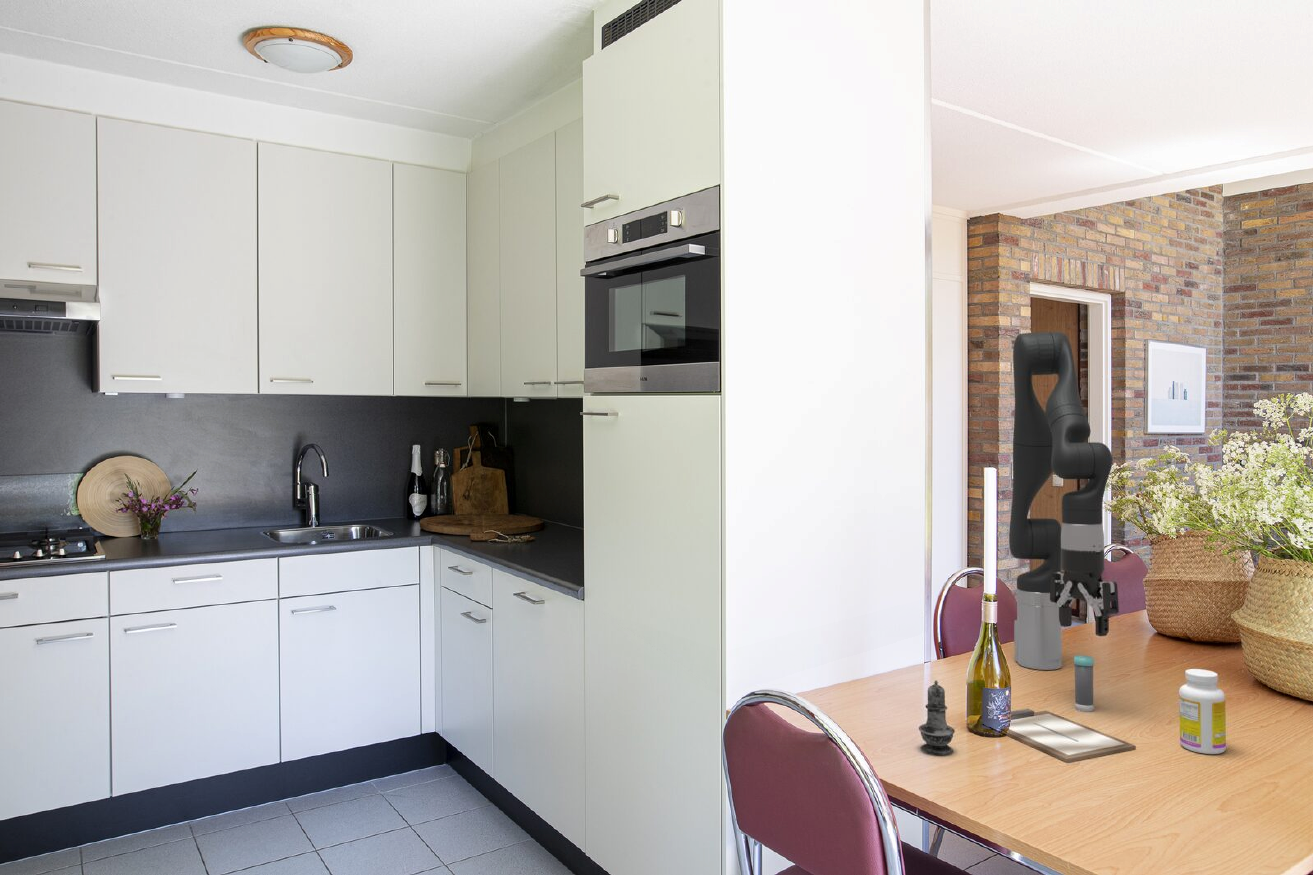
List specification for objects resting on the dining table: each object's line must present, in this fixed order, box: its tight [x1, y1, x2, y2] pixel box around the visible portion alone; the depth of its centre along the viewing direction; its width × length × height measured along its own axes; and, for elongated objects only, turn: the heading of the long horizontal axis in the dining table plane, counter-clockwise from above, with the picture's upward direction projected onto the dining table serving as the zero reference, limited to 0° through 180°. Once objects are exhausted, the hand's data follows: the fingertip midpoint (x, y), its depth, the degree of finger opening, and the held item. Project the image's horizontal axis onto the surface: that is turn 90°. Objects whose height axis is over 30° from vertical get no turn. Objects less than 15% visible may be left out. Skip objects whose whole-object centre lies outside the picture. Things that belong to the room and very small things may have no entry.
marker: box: [1073, 654, 1095, 713], centre depth 171 cm, size 3×3×10 cm
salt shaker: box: [918, 679, 956, 757], centre depth 152 cm, size 6×6×12 cm
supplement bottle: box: [1178, 668, 1227, 755], centre depth 150 cm, size 7×7×13 cm
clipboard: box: [1006, 708, 1137, 764], centre depth 157 cm, size 20×15×2 cm
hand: (1083, 630), depth 171 cm, fingers open, 8 cm apart
